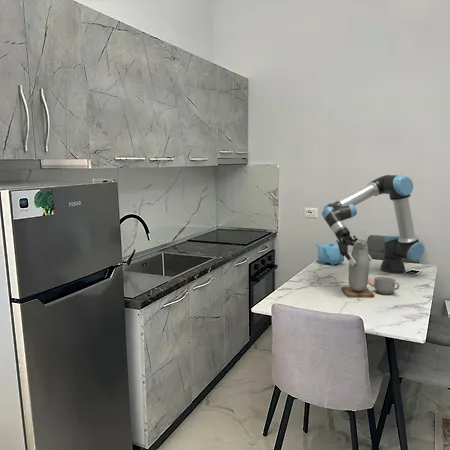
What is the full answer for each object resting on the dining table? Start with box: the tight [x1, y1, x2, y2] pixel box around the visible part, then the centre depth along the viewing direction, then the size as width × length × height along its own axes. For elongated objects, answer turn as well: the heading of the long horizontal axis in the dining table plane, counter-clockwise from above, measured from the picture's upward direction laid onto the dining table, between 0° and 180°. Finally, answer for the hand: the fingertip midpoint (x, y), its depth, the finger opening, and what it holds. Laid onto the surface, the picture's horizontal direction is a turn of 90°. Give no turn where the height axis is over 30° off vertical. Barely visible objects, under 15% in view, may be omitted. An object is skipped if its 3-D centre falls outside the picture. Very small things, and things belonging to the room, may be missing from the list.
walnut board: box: [340, 286, 375, 299], centre depth 224 cm, size 14×14×2 cm
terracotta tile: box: [368, 278, 375, 288], centre depth 242 cm, size 12×12×1 cm
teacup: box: [374, 276, 401, 295], centre depth 224 cm, size 14×11×8 cm
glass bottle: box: [347, 239, 370, 291], centre depth 222 cm, size 10×10×28 cm
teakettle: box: [314, 242, 345, 267], centre depth 292 cm, size 19×19×15 cm
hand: (362, 262), depth 220 cm, fingers open, 13 cm apart
